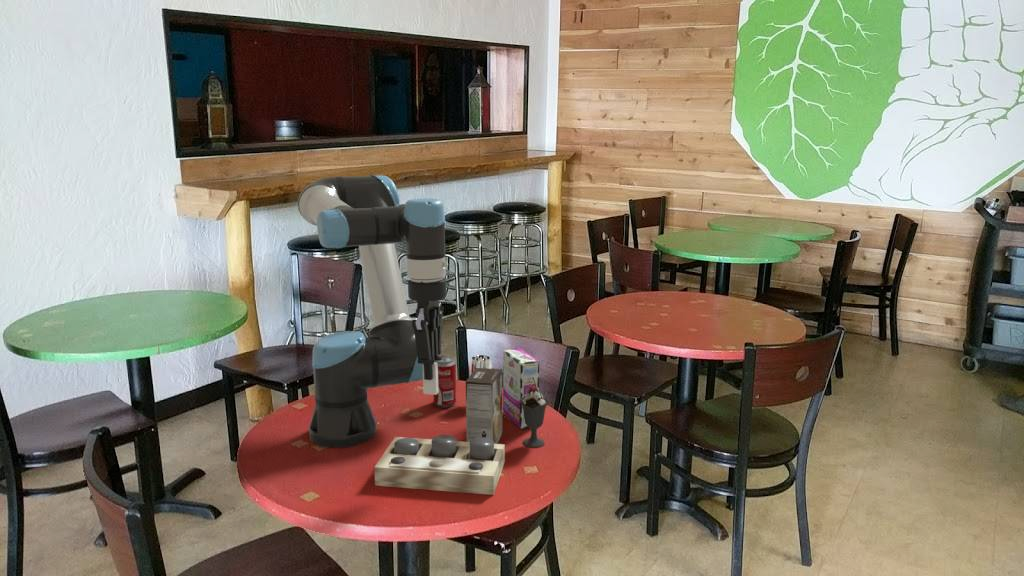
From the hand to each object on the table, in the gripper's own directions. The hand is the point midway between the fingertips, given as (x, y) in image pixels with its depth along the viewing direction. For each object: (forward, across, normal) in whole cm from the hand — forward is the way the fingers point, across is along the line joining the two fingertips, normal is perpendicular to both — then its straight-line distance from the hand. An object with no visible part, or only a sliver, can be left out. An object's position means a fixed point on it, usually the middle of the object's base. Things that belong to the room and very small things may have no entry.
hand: (431, 392), depth 150 cm
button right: (+15, +2, -10) cm, 18 cm away
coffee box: (+17, +16, -7) cm, 25 cm away
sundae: (+17, +18, -18) cm, 31 cm away
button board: (+17, 0, -2) cm, 17 cm away
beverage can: (+16, +35, +8) cm, 40 cm away
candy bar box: (+17, +30, -12) cm, 37 cm away
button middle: (+15, +2, -2) cm, 15 cm away
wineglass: (+16, +38, 0) cm, 41 cm away
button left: (+16, +1, +6) cm, 17 cm away
